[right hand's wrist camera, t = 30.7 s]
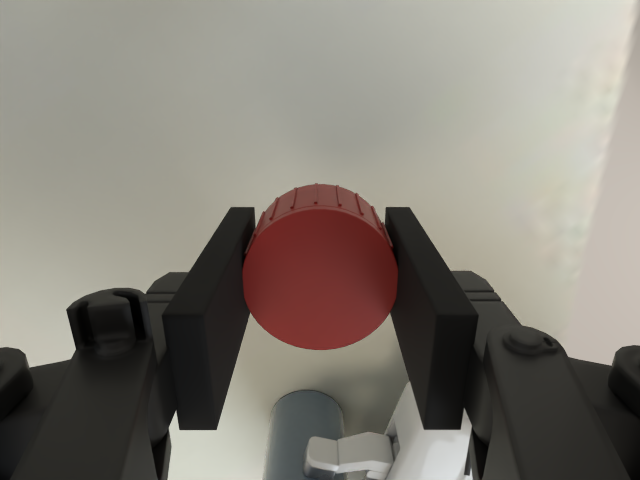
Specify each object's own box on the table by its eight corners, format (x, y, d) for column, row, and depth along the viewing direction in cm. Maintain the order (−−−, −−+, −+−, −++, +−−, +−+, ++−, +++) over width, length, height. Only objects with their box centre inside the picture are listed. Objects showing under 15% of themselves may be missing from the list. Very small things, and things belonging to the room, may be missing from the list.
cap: (326, 152, 13) (327, 171, 11) (414, 252, 14) (434, 290, 12) (225, 242, 14) (205, 278, 12) (315, 328, 15) (314, 377, 13)
